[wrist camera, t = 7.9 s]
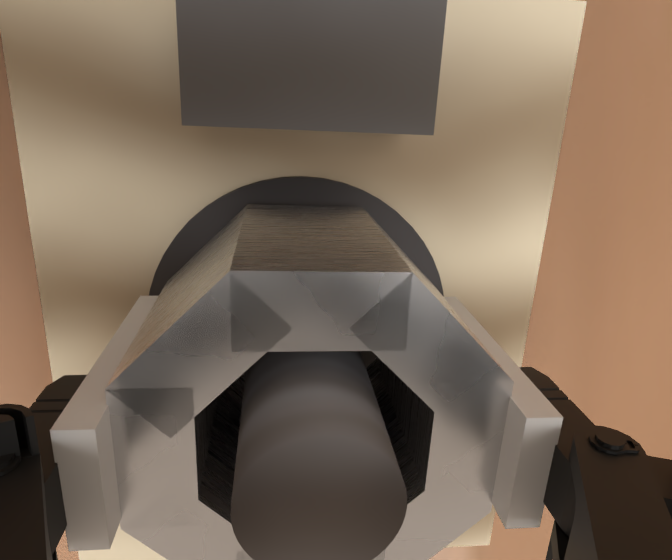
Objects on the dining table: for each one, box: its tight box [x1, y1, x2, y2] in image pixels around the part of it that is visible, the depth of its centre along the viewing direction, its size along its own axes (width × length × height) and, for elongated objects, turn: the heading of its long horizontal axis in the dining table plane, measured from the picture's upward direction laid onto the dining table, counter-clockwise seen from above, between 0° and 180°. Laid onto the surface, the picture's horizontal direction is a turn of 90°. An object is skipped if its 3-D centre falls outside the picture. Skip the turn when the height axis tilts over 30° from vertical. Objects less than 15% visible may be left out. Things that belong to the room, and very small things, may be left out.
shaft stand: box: [0, 0, 587, 560], centre depth 14 cm, size 20×16×10 cm
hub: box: [105, 204, 514, 560], centre depth 14 cm, size 8×8×6 cm
